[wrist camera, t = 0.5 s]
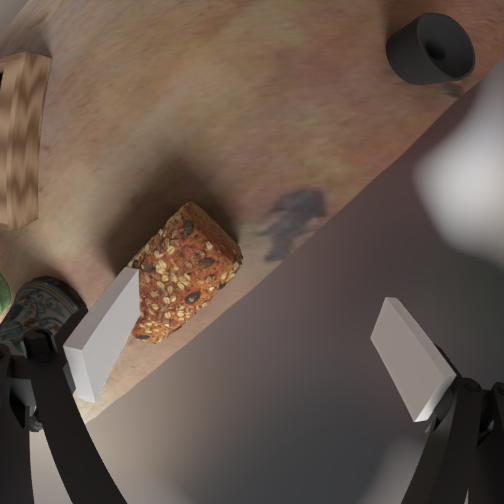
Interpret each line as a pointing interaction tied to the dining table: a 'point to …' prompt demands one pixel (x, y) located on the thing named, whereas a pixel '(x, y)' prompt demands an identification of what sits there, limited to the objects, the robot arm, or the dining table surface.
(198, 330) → the dining table surface
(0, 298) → the ramekin
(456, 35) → the pen holder
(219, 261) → the bread
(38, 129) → the block
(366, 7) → the dining table surface
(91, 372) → the robot arm
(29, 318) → the beer stein
